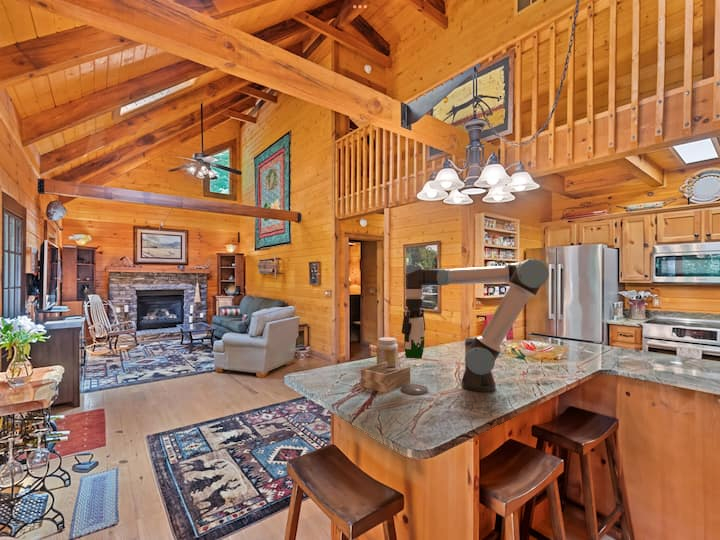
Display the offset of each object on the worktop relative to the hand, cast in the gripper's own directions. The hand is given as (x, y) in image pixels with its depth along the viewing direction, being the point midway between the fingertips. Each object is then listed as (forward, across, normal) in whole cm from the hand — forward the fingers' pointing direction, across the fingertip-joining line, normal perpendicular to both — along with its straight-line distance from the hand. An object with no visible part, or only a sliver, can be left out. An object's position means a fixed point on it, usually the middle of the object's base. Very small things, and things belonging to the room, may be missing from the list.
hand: (414, 347), depth 160 cm
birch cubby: (+20, +2, -15) cm, 25 cm away
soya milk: (+5, 0, 0) cm, 5 cm away
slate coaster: (+20, 0, 0) cm, 20 cm away
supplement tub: (+20, -22, -32) cm, 44 cm away
